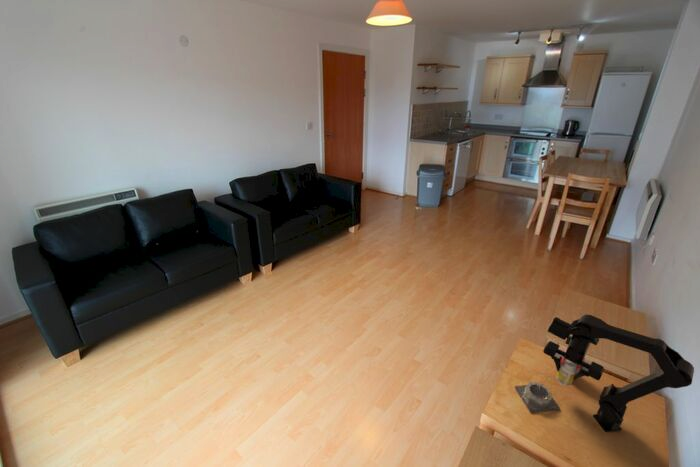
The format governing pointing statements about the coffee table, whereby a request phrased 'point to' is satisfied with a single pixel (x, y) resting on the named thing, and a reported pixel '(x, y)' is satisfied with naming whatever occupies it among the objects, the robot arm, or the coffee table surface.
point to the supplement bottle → (566, 373)
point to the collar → (537, 397)
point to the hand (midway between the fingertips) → (566, 374)
